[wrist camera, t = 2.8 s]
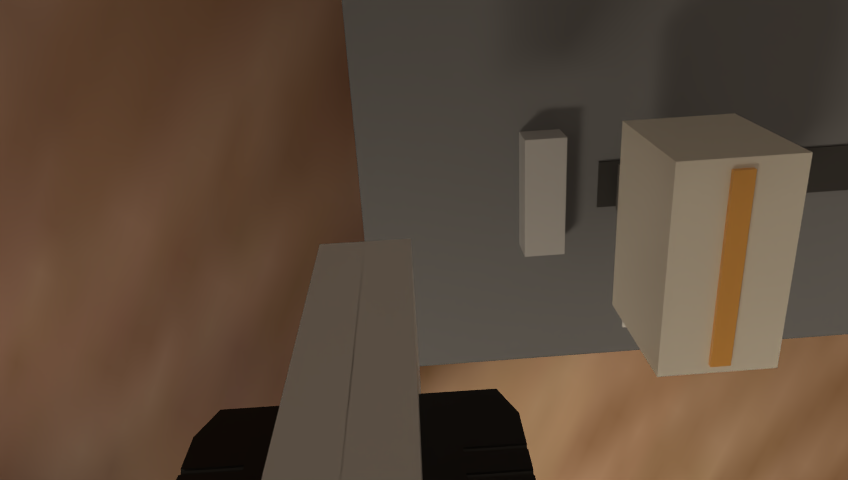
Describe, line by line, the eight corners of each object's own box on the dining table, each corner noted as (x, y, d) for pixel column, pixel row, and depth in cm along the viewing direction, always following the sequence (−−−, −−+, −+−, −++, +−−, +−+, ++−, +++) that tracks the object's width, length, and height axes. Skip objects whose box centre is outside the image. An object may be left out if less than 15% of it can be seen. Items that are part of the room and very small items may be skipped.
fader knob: (589, 268, 19) (658, 379, 14) (596, 100, 17) (678, 163, 12) (680, 261, 19) (779, 370, 14) (696, 94, 17) (816, 153, 12)
